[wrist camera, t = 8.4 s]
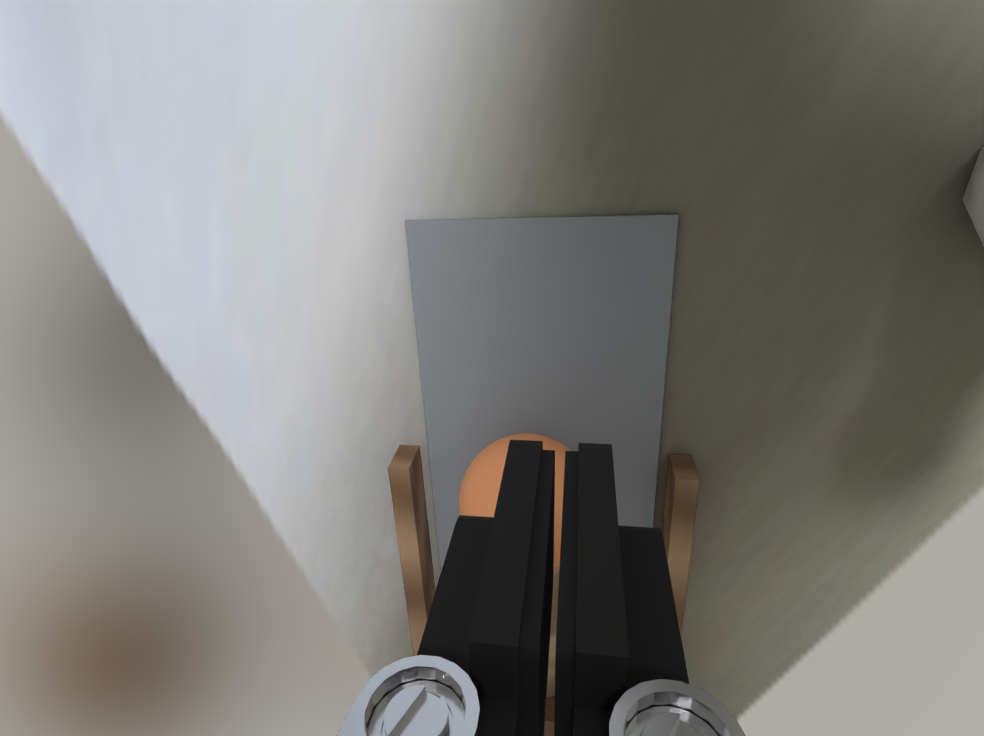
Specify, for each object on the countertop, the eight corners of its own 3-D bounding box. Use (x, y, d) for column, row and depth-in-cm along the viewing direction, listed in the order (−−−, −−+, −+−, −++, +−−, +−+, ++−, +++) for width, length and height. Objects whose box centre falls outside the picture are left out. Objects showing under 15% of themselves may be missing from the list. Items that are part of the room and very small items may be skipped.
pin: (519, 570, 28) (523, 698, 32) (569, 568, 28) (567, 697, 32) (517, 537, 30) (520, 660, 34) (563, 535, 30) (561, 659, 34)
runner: (406, 220, 24) (405, 221, 24) (678, 214, 23) (678, 215, 23) (451, 662, 35) (450, 665, 35) (639, 678, 33) (640, 681, 33)
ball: (448, 591, 25) (478, 494, 30) (586, 614, 24) (595, 509, 29) (436, 491, 22) (473, 400, 27) (596, 512, 21) (604, 413, 26)
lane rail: (399, 445, 29) (378, 486, 26) (691, 455, 27) (706, 501, 24) (427, 667, 35) (412, 722, 32) (665, 688, 33) (675, 749, 30)
